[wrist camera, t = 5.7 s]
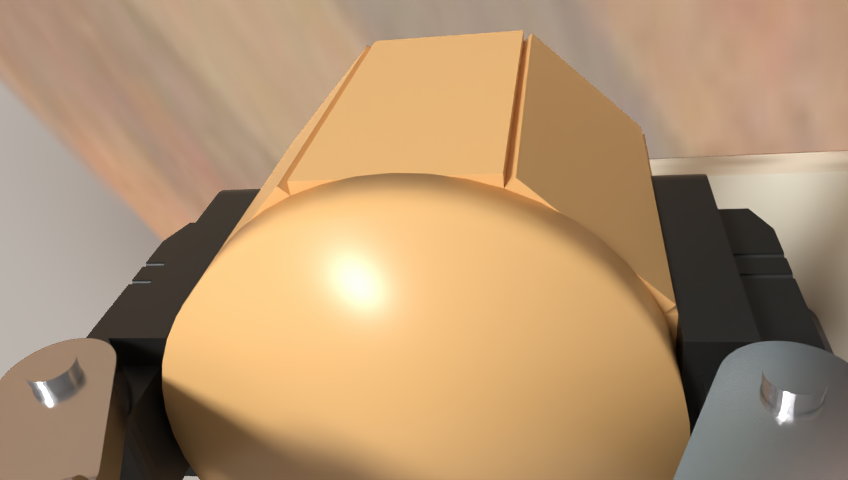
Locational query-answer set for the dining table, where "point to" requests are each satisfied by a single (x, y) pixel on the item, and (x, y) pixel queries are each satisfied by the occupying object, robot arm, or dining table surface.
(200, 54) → the dining table surface
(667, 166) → the board
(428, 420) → the orange cap
